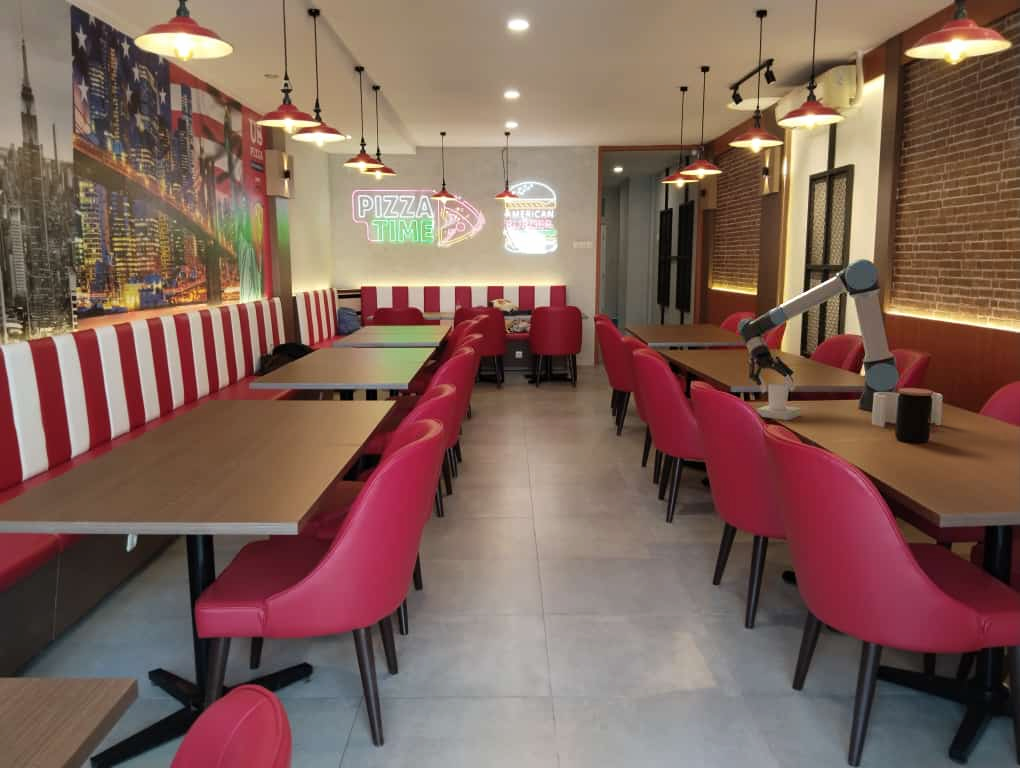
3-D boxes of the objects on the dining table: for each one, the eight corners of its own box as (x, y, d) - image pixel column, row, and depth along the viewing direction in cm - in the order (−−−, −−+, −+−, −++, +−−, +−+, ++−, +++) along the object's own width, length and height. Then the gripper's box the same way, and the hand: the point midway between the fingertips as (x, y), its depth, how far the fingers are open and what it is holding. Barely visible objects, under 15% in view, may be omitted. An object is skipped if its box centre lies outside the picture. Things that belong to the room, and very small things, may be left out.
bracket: (929, 421, 295) (931, 391, 293) (943, 426, 285) (946, 395, 283) (866, 422, 295) (868, 392, 293) (878, 427, 285) (881, 396, 283)
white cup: (789, 410, 302) (790, 386, 301) (768, 410, 304) (769, 386, 302) (786, 406, 310) (787, 383, 308) (766, 406, 312) (767, 383, 310)
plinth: (800, 415, 308) (800, 408, 307) (787, 420, 298) (787, 413, 298) (770, 411, 317) (770, 404, 316) (756, 415, 307) (756, 408, 307)
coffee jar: (933, 444, 258) (938, 393, 255) (901, 443, 259) (904, 392, 256) (922, 437, 268) (926, 388, 265) (890, 436, 270) (894, 387, 267)
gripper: (779, 354, 324) (800, 393, 312) (729, 356, 317) (748, 397, 305) (787, 343, 318) (809, 382, 306) (737, 345, 311) (756, 386, 299)
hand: (779, 390), depth 306 cm, fingers open, 13 cm apart
